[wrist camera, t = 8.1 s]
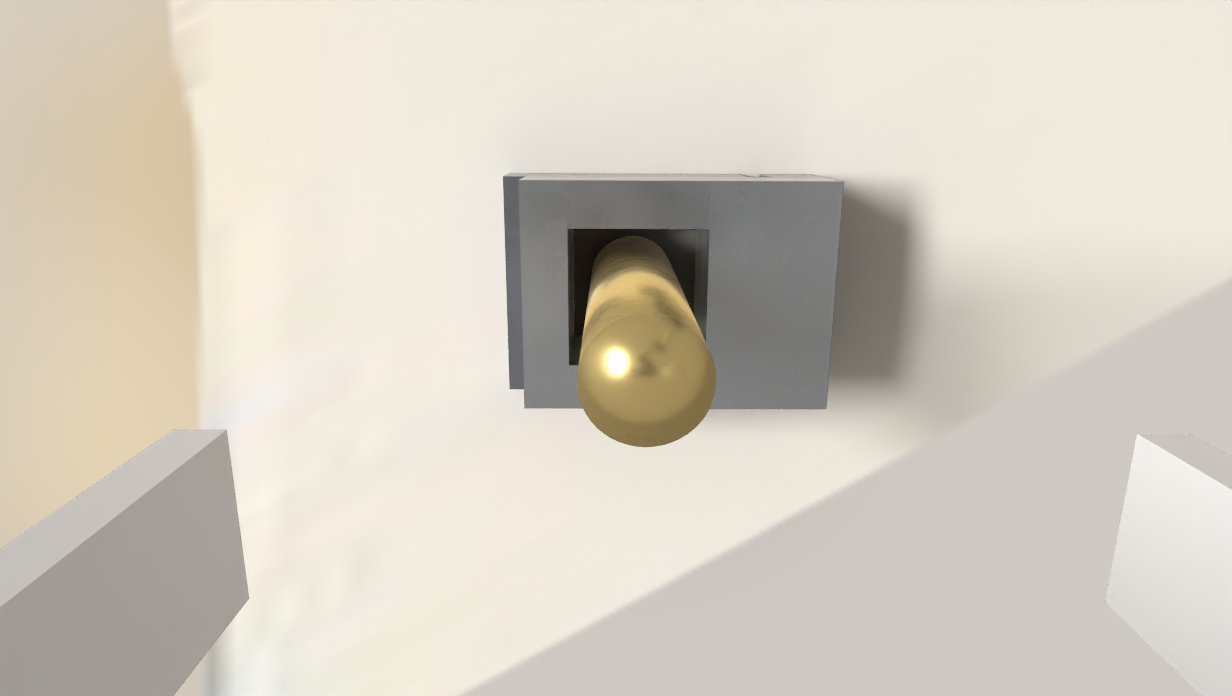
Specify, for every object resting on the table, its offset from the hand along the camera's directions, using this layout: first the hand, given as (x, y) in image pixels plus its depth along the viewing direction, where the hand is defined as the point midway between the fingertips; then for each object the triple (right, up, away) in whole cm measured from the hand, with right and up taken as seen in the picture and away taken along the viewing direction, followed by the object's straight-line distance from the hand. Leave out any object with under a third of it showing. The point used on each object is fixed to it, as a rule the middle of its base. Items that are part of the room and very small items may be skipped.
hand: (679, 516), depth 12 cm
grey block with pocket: (0, +5, +20) cm, 21 cm away
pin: (0, +5, +20) cm, 21 cm away
